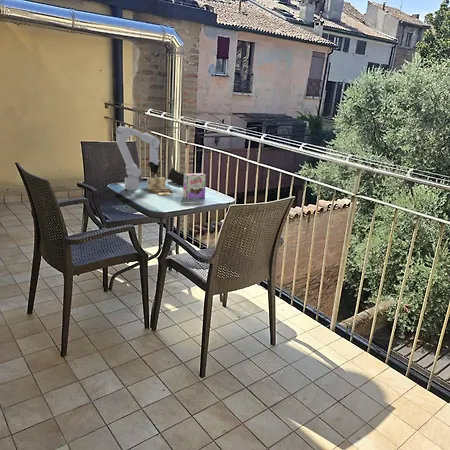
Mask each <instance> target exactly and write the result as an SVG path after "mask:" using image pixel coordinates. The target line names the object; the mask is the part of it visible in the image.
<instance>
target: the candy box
mask: <svg viewBox="0 0 450 450" xmlns="http://www.w3.org/2000/svg"><path fill="white" fill-rule="evenodd" d="M183 174H184V185H183V187H182V189H183V190H182V191H183V192H182V197H183V198H185V199H186V200H187V199H199V200H202V199H206V198H205V197H206V179H207V175H206V174H205V173H197V172H196V173H183Z"/></svg>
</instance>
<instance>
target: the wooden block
mask: <svg viewBox="0 0 450 450" xmlns="http://www.w3.org/2000/svg"><path fill="white" fill-rule="evenodd" d="M166 181H167V180H166V177H148V178H147V188H148V189H147V190H148V191H150V189H166Z"/></svg>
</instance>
